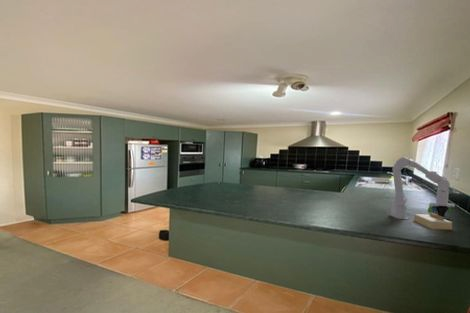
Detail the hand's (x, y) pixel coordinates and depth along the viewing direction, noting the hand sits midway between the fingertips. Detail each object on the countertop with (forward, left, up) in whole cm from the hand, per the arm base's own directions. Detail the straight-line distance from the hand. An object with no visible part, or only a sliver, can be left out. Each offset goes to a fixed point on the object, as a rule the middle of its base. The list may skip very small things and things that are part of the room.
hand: (441, 217), depth 153 cm
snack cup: (-18, +13, -6) cm, 23 cm away
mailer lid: (0, -5, -1) cm, 6 cm away
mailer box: (0, -5, -5) cm, 8 cm away
